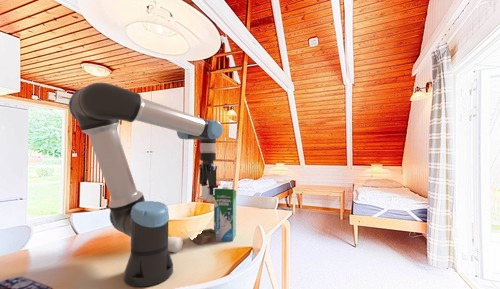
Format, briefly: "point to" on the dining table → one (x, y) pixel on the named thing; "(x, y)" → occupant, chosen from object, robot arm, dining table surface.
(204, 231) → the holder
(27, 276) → the dining table surface
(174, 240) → the paper roll
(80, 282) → the dining table surface
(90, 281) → the dining table surface
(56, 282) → the dining table surface
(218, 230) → the milk carton
